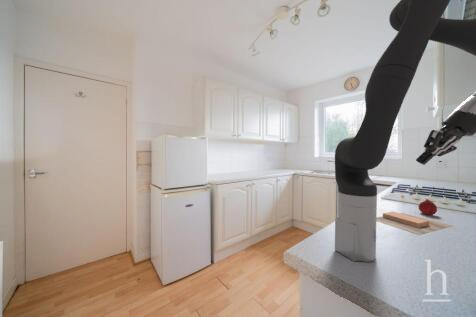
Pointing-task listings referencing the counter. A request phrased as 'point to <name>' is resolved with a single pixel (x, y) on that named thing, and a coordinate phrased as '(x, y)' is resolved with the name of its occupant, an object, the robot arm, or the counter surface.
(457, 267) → the counter surface
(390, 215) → the tile
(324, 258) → the counter surface
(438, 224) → the board
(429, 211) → the onion
